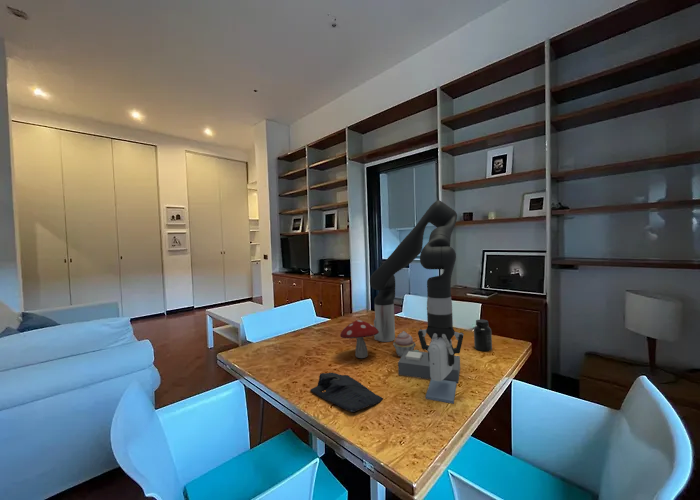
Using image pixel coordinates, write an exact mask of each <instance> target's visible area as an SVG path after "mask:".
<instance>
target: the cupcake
mask: <svg viewBox="0 0 700 500" xmlns="http://www.w3.org/2000/svg"><path fill="white" fill-rule="evenodd" d="M392 344H393V346H394V348H395V352H396V355H397V356H398V357H399V358H401V357H402V355H403V353H404V352H405V350H412V351H414V350H415V348H416V346H417V344H416V342H415V341H414V340H413V336H411V334H410V333H407V332H406V331H404V330H403V331H402V332H400V333H398V334H397V336H395V339H394V341H393V342H392Z"/></svg>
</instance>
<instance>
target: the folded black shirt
mask: <svg viewBox="0 0 700 500" xmlns="http://www.w3.org/2000/svg"><path fill="white" fill-rule="evenodd" d="M318 377H319V378H318V382H317V386H315V387H313V388H311V389H310V392H311V391H312V392H313V393H312V392H311V393H312V394H315V395H317V396H318V397H319V398H321V399H323V400H325V401H327V402H331V403H332V404H333V405H335V406H337V407H339V408H341V409H343V410H345V411H348V412H350V413H355V412H358V411H359V410H360V411H361V410H362V409H365V408H367V407H371V406H375V405H376V404H379V403H380V402H382V400H384V398H383V397H382V396H380V395H378V394H376V393H375V392H374V391H372V390H370V389H369V388H368V387H366V386H365V385H364V384H362V383H361V382H359V381H358V380H357V379H354V378H353V377H352V376H350V375H347V374H339V373H336V372H323V373H320V374H319V376H318ZM324 390H326V391H324ZM322 391H323V392H322Z"/></svg>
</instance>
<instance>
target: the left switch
mask: <svg viewBox="0 0 700 500" xmlns="http://www.w3.org/2000/svg"><path fill="white" fill-rule="evenodd" d="M420 352H421V351H420ZM420 352H411V351H409V352H408V353H407V355H406V359H407V360H414V361H421V359H422V353H420Z"/></svg>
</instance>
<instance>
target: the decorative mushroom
mask: <svg viewBox="0 0 700 500" xmlns="http://www.w3.org/2000/svg"><path fill="white" fill-rule="evenodd" d="M378 333H379V331H378V329H376V328H375V327H374V324H373V325H372V324H371V323H369V322H366V321H364V320H361V319H357V320H354V321H352V322H351V323H349V324H347V325H346V326H345V327H344V328H343V329H342V330H341V331H340V333H339V336H340V338H341V339H356V344H355V357H356V358H357V359H365V358H367V357H368V355H369V354H368V352H369V351H368V346H367V344H366V342H365V338H369V337H373V336H374V335H377V334H378Z"/></svg>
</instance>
